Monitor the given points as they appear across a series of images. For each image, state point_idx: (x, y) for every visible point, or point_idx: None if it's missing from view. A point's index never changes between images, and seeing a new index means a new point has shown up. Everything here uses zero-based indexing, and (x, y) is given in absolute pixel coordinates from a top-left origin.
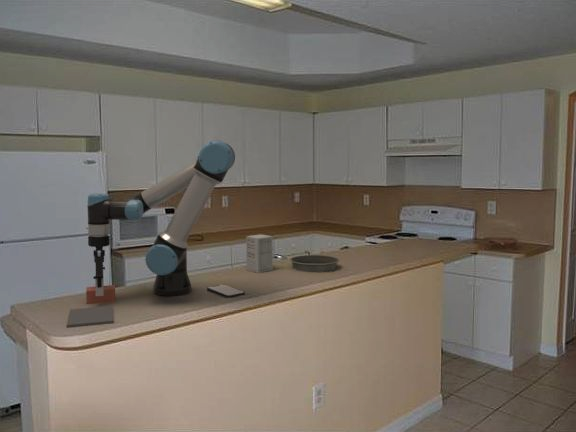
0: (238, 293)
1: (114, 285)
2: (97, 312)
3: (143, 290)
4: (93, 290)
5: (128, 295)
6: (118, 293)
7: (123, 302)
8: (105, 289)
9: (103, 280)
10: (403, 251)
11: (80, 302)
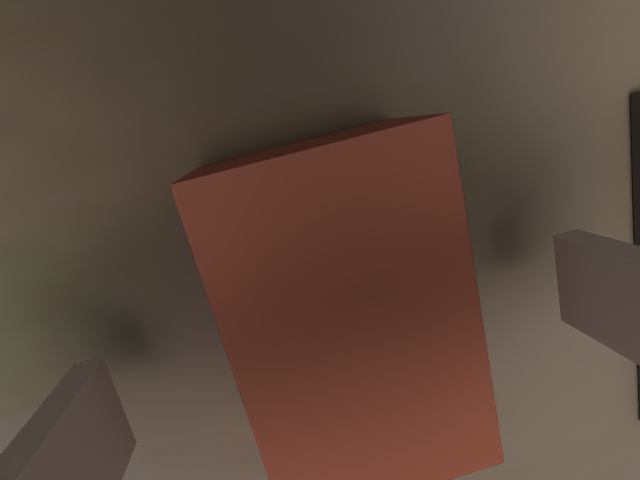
0: None
1: (209, 175)
2: None
3: None
4: (485, 393)
5: (117, 3)
6: (11, 160)
7: (445, 16)
8: (462, 253)
9: (62, 415)
10: None
11: None
